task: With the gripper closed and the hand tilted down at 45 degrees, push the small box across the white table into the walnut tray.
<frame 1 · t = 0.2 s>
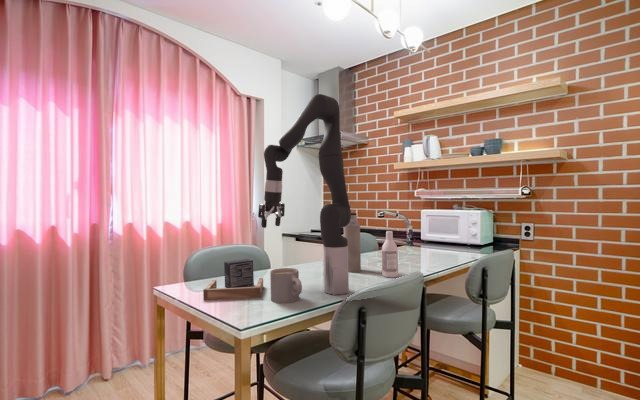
hand: (270, 226, 157), 23 cm above the table, tool pointing down, fingers open, 8 cm apart
coffee mug: (287, 300, 123), on the table
bath foam: (390, 276, 157), on the table
small box: (239, 286, 145), on the table
walnut tray: (235, 292, 135), on the table
thermos bottle: (352, 270, 170), on the table
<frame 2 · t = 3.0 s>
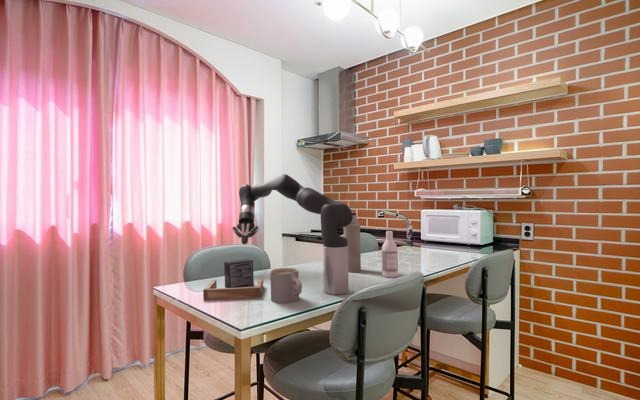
hand: (244, 243, 165), 15 cm above the table, tool tilted 45°, fingers closed
nothing on the table moved.
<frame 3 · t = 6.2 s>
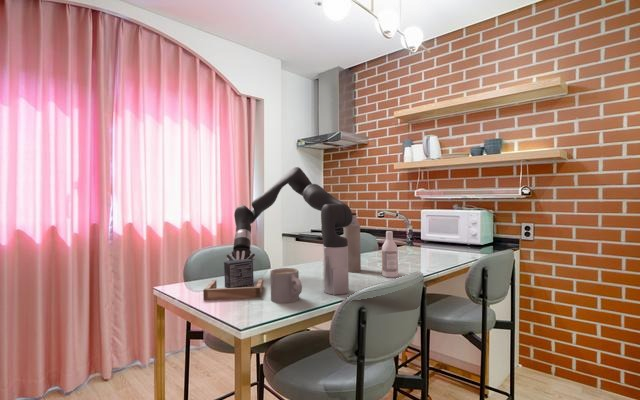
hand: (239, 273, 149), 4 cm above the table, tool tilted 45°, fingers closed
small box: (239, 286, 145), on the table, touching gripper
everything else where it was.
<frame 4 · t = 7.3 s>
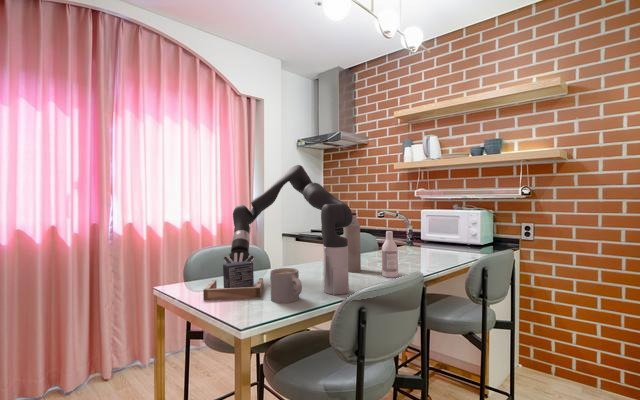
hand: (237, 276, 143), 4 cm above the table, tool tilted 45°, fingers closed
small box: (238, 289, 139), on the table, touching gripper
everything else where it was.
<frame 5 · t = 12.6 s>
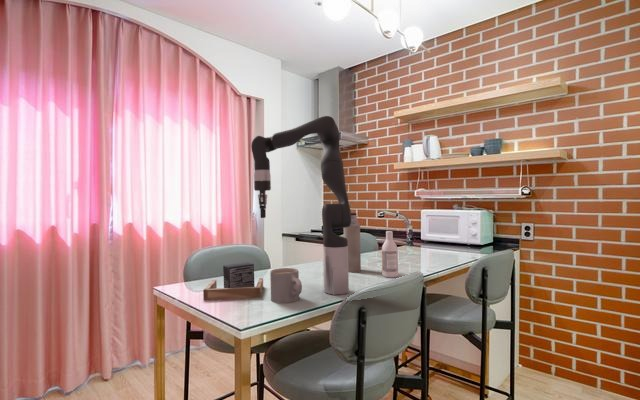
hand: (263, 217, 161), 27 cm above the table, tool pointing down, fingers closed
small box: (239, 291, 137), on the table
everything else where it was.
at the end: small box 2.3 cm from the walnut tray (horizontally); small box tilted 0° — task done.
